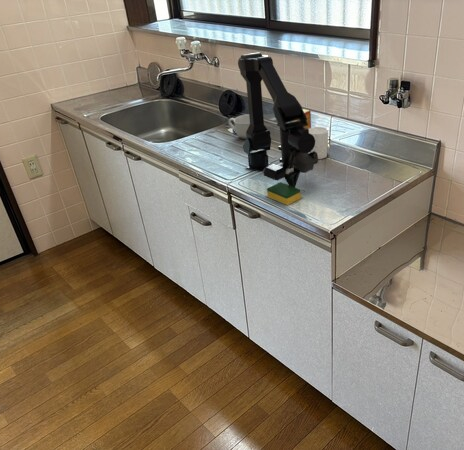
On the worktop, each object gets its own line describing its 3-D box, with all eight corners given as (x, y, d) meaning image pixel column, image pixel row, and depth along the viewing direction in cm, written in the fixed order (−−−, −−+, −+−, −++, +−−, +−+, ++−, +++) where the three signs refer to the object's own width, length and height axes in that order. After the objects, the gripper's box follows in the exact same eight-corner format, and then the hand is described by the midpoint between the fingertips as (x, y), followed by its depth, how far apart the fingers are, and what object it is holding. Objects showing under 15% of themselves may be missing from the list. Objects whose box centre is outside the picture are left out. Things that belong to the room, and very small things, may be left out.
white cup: (327, 160, 173) (326, 134, 168) (306, 159, 175) (305, 133, 169) (329, 152, 180) (329, 126, 174) (309, 151, 181) (308, 126, 176)
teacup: (266, 134, 200) (264, 116, 196) (251, 142, 193) (249, 123, 189) (240, 130, 207) (238, 112, 203) (224, 138, 200) (222, 119, 195)
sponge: (267, 196, 150) (266, 188, 149) (281, 190, 154) (280, 181, 152) (287, 205, 144) (286, 196, 143) (300, 198, 148) (300, 189, 146)
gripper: (286, 158, 132) (289, 207, 140) (330, 139, 143) (331, 186, 151) (260, 149, 140) (264, 196, 148) (304, 132, 150) (306, 177, 158)
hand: (292, 189), depth 151 cm, fingers closed
